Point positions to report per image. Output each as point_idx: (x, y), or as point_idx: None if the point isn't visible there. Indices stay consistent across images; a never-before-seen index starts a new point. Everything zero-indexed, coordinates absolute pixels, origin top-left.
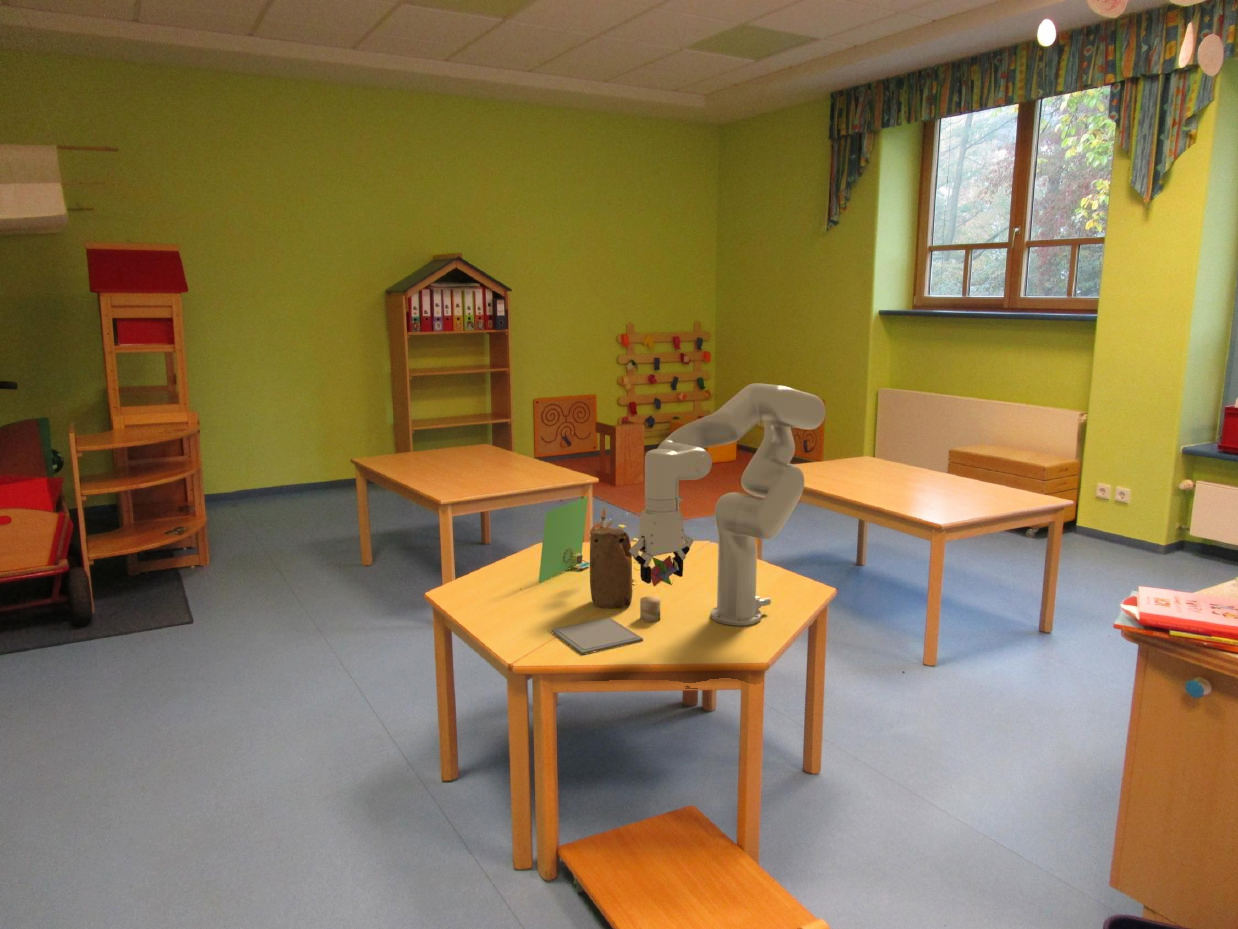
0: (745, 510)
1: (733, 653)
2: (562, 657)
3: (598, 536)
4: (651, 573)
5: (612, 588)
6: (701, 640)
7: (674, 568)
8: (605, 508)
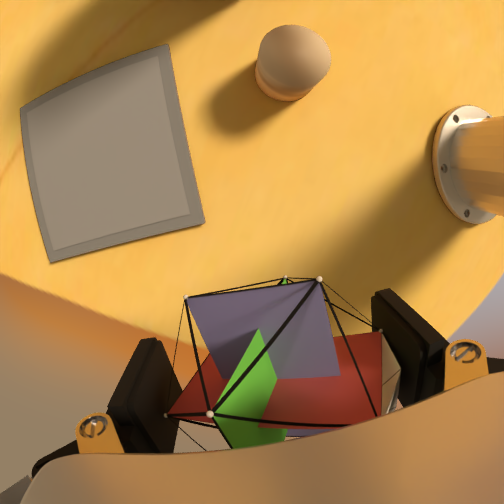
0: None
1: None
2: (22, 258)
3: None
4: (191, 399)
5: None
6: (352, 266)
7: (387, 328)
8: None
